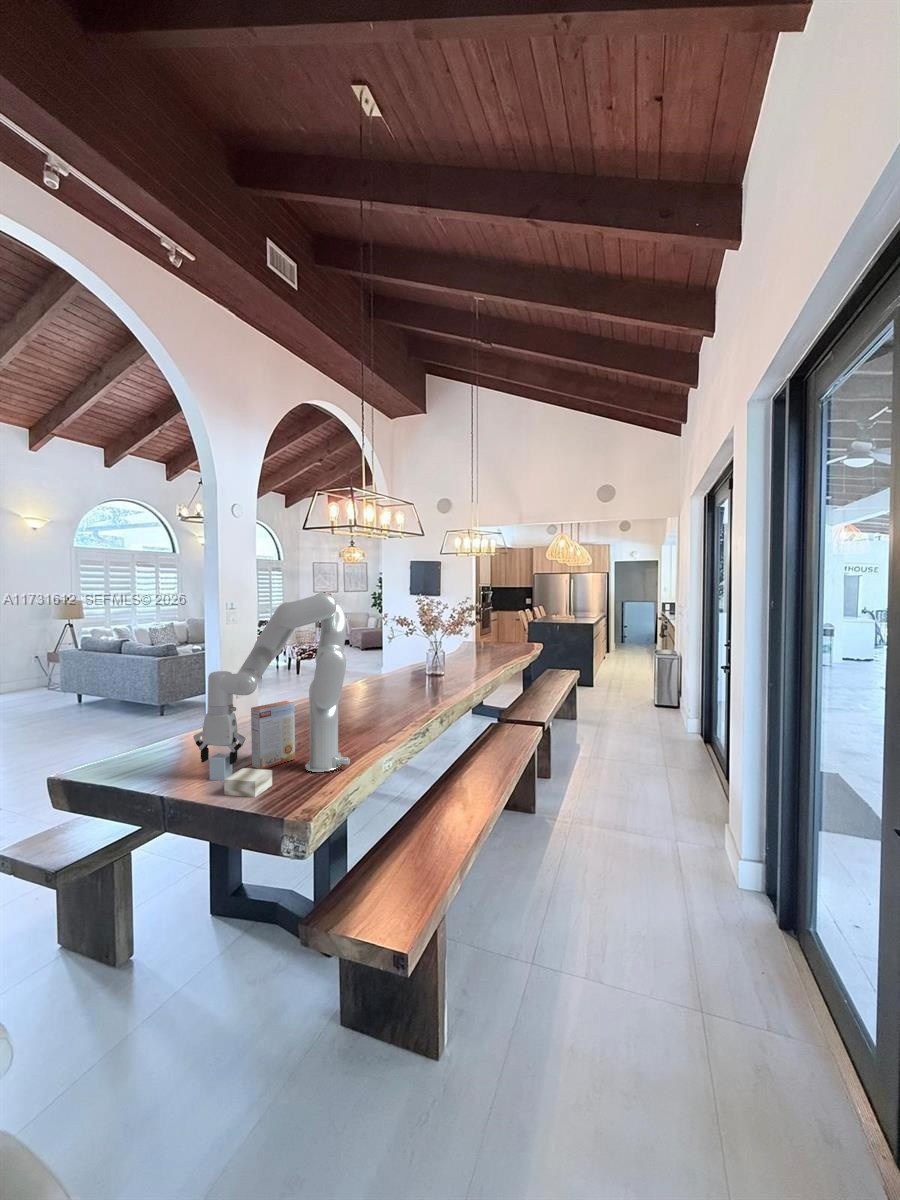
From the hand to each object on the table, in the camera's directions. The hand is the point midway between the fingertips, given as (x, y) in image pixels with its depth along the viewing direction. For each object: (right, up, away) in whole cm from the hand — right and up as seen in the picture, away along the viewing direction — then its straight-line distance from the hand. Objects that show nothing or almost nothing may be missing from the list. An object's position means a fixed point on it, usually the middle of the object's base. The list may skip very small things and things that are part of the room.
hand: (218, 762), depth 174 cm
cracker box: (+13, -5, +14) cm, 20 cm away
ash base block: (+14, -6, -10) cm, 18 cm away
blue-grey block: (+1, -5, 0) cm, 5 cm away
